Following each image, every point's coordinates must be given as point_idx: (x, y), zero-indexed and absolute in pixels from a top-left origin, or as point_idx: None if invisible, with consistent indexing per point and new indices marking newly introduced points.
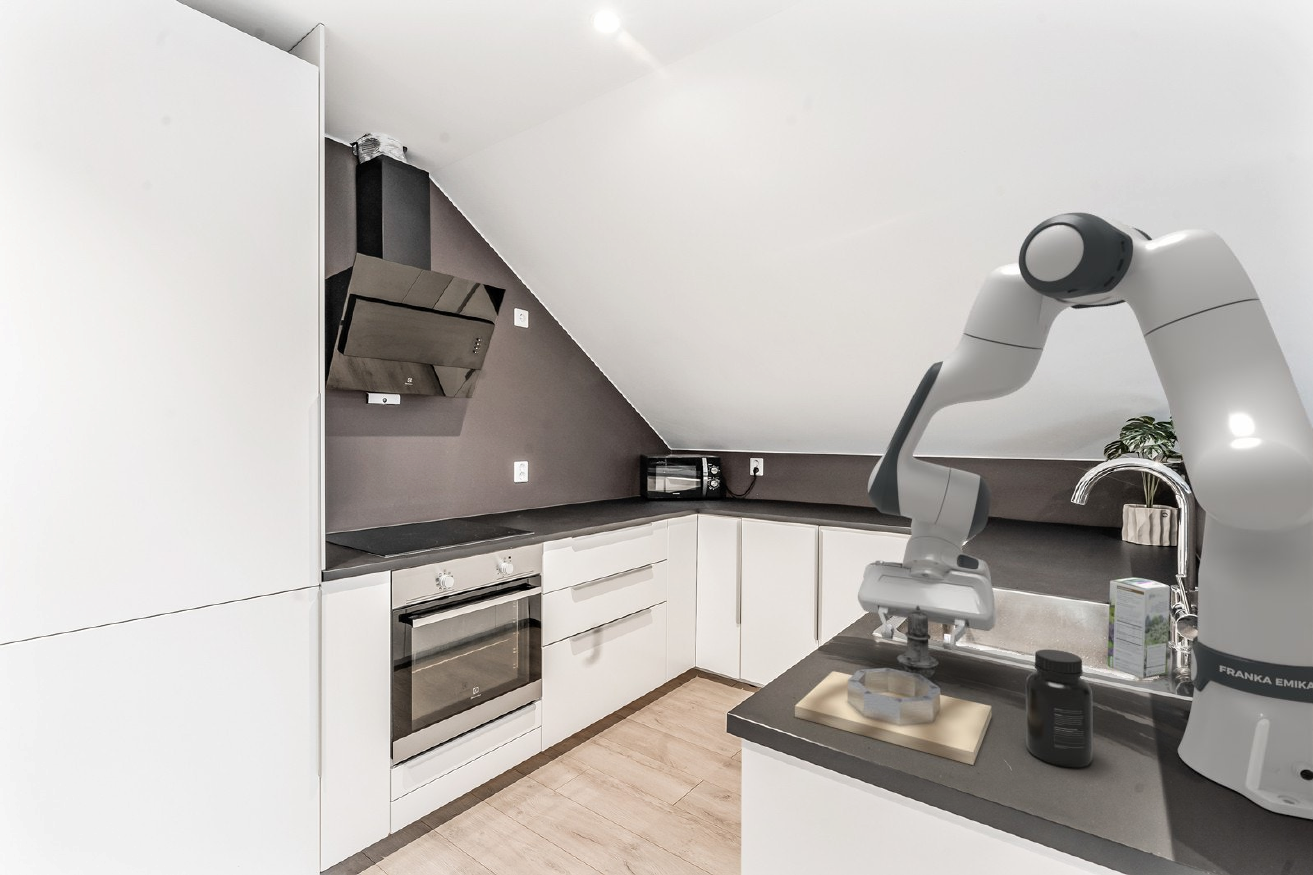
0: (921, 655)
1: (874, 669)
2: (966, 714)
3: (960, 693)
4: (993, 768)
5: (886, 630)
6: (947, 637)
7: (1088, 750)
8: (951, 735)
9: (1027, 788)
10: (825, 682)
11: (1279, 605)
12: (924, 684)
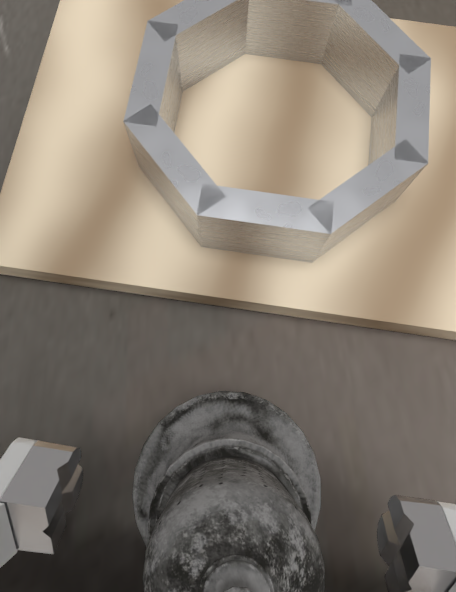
0: (205, 440)
1: (372, 193)
2: (64, 168)
3: (75, 436)
4: (37, 10)
5: (436, 517)
6: (32, 479)
7: None
8: (112, 33)
9: None
10: None
11: None
12: (178, 142)
